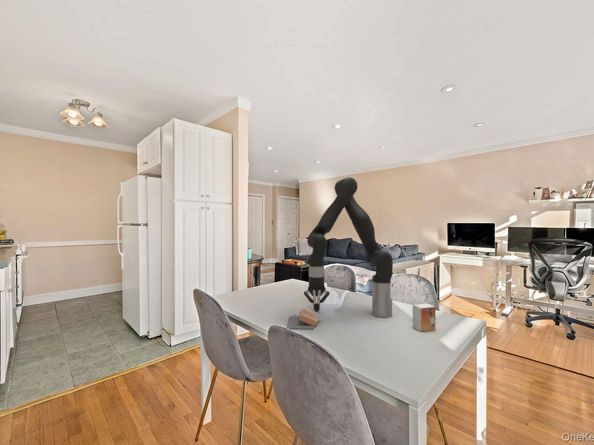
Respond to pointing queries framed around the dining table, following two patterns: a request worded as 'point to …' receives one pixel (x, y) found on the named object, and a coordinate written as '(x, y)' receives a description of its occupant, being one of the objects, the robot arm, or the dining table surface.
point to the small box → (424, 317)
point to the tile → (308, 317)
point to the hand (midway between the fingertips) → (316, 311)
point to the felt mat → (298, 323)
